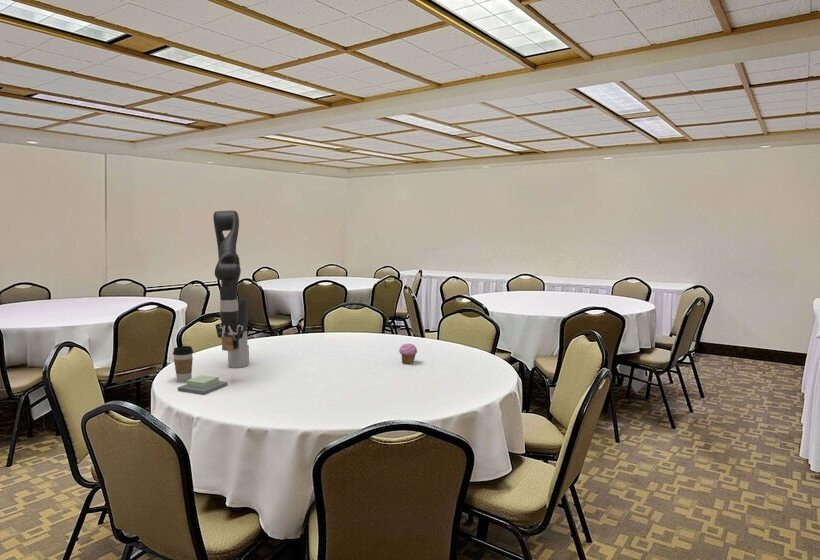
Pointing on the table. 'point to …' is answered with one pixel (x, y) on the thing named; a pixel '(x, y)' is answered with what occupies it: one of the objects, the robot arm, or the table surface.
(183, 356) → the coffee cup
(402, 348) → the cupcake
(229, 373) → the table surface
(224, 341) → the walnut block
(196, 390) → the stack base
